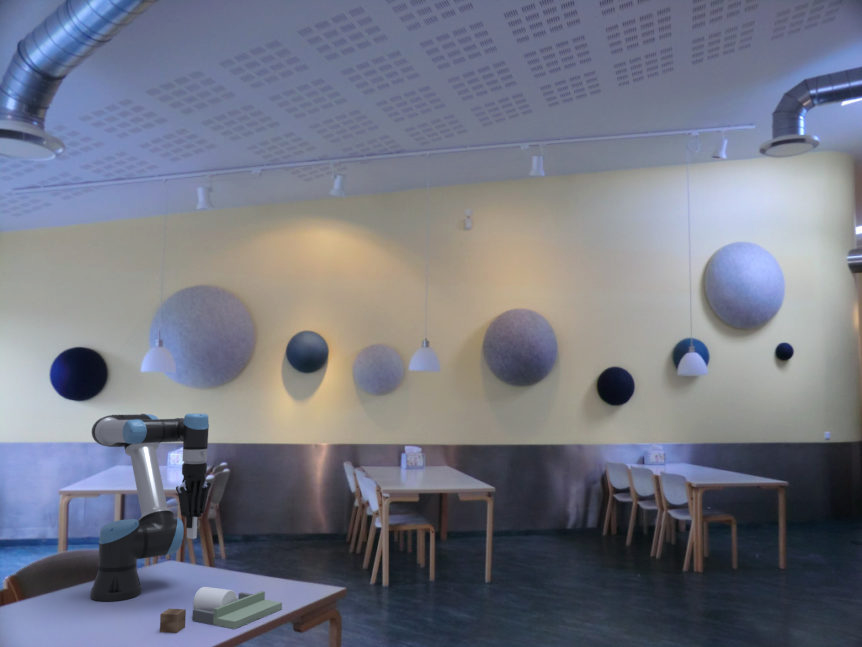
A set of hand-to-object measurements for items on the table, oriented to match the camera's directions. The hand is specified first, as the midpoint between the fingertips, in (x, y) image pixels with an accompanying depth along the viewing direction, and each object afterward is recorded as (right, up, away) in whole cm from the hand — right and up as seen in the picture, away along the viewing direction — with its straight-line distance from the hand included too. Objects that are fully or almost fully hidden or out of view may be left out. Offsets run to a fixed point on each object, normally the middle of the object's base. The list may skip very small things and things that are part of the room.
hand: (191, 537), depth 228 cm
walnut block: (+3, -18, -25) cm, 31 cm away
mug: (+12, -20, -11) cm, 26 cm away
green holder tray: (+18, -20, -12) cm, 29 cm away
